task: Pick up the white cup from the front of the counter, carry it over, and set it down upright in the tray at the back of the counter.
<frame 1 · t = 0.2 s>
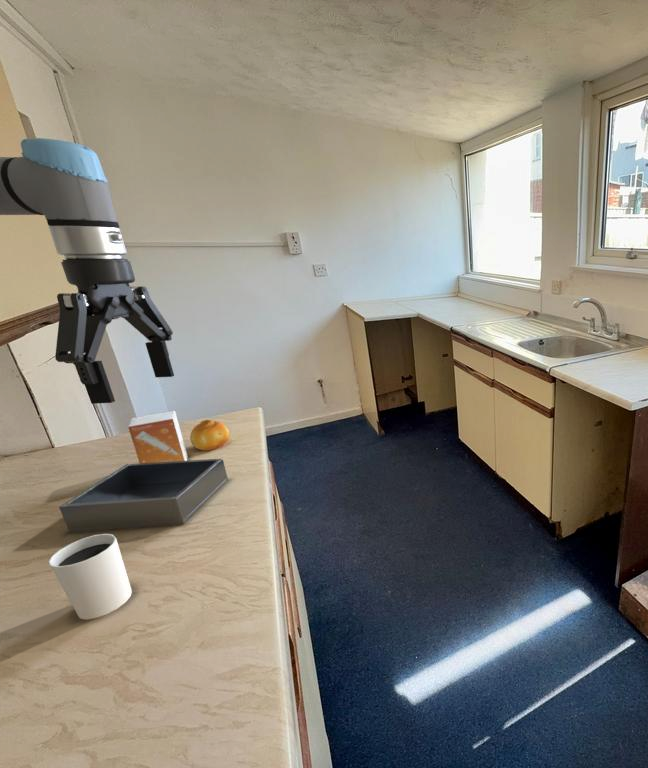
hand: (137, 388, 67), 28 cm above the counter, tool pointing down, fingers open, 13 cm apart
white cup: (106, 605, 59), on the counter
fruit: (213, 447, 107), on the counter
tray: (157, 505, 82), on the counter
small box: (167, 467, 97), on the counter
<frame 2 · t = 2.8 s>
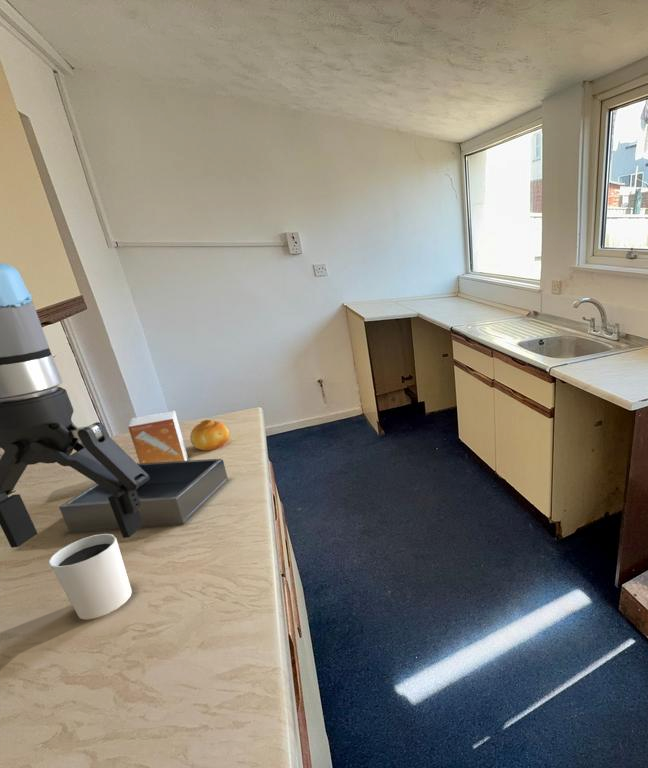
hand: (80, 536, 55), 12 cm above the counter, tool pointing down, fingers open, 13 cm apart
nothing on the counter moved.
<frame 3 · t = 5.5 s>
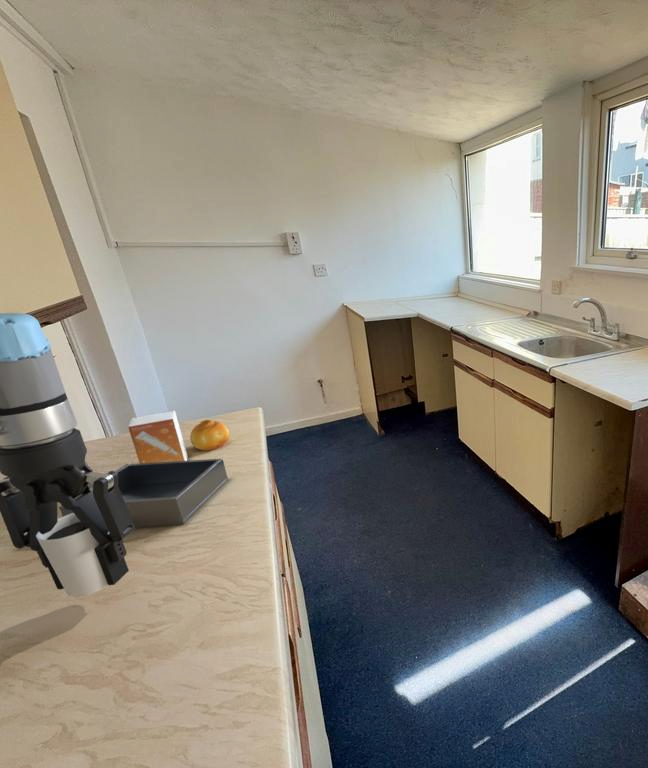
hand: (94, 579, 58), 5 cm above the counter, tool pointing down, fingers closed on white cup, 6 cm apart
white cup: (95, 581, 58), point 4 cm above the counter, touching gripper
everything else where it was.
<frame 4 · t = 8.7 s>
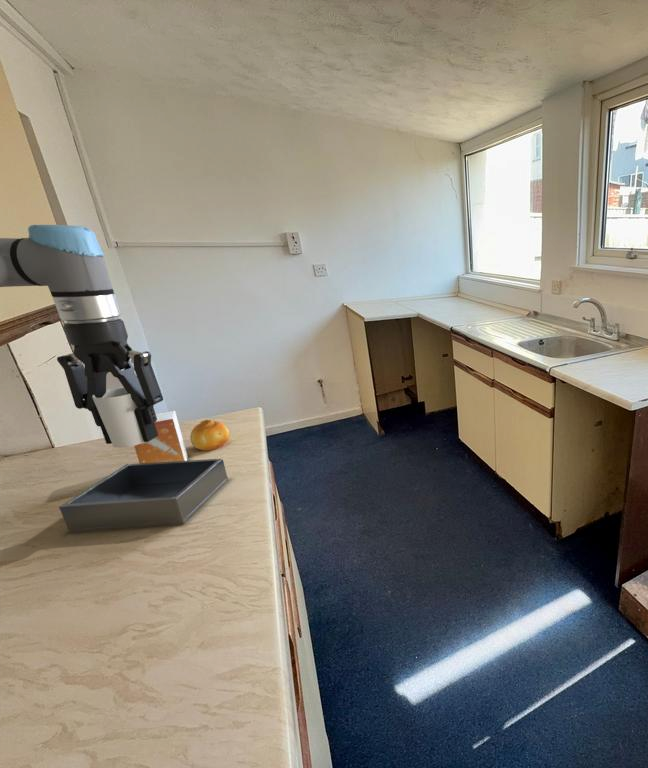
hand: (132, 439, 76), 16 cm above the counter, tool pointing down, fingers closed on white cup, 6 cm apart
white cup: (133, 441, 77), point 15 cm above the counter, touching gripper
everything else where it was.
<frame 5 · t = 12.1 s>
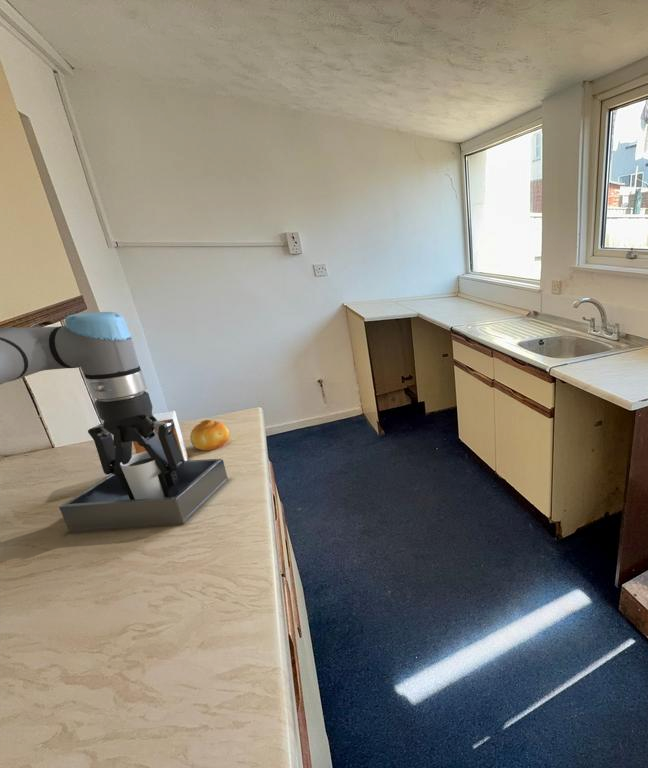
hand: (156, 499, 82), 1 cm above the counter, tool pointing down, fingers closed on white cup, 6 cm apart
white cup: (156, 501, 82), point 1 cm above the counter, touching gripper
everything else where it was.
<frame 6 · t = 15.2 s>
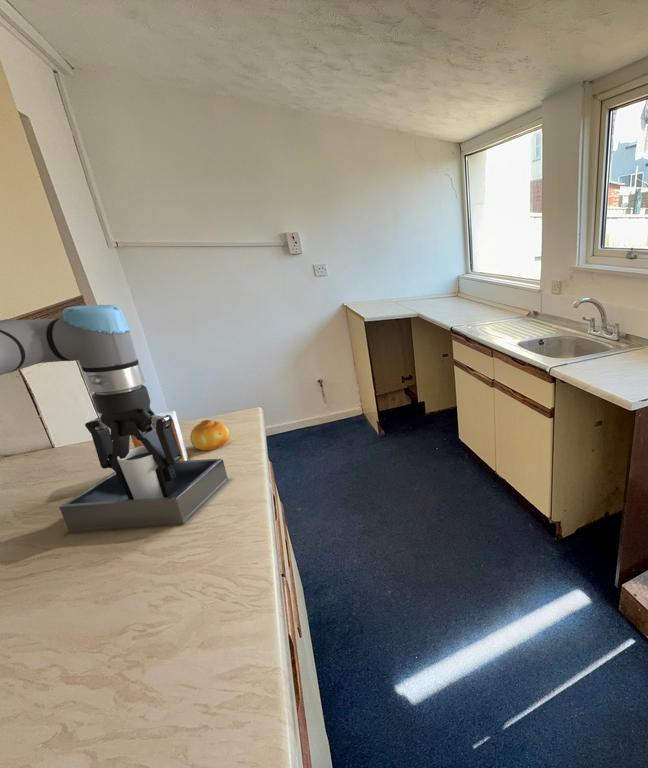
hand: (153, 494, 82), 3 cm above the counter, tool pointing down, fingers closed on white cup, 6 cm apart
white cup: (154, 496, 82), point 2 cm above the counter, touching gripper
everything else where it was.
when the fingers open (3 cm above the counter, at t = 17.8 s): white cup drops 1 cm, resting on tray.
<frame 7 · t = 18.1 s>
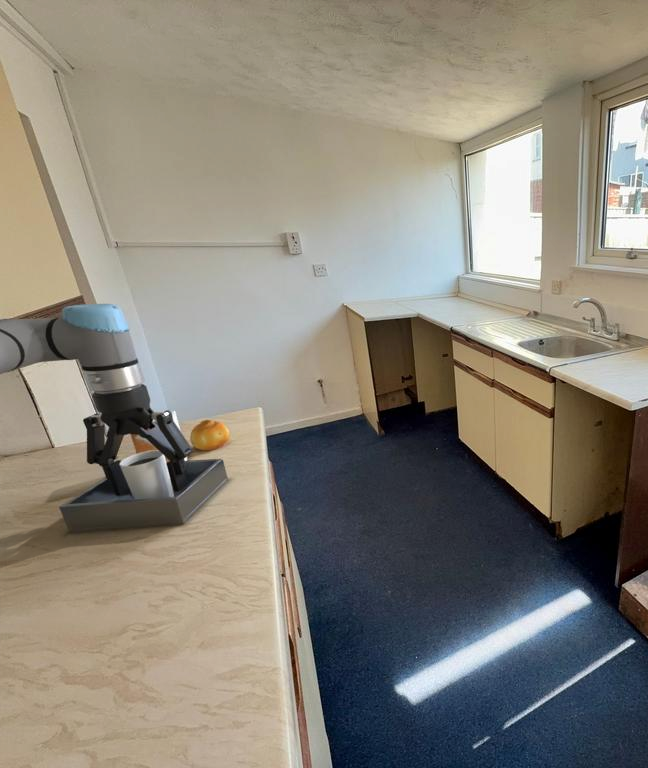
hand: (152, 489, 81), 4 cm above the counter, tool pointing down, fingers open, 10 cm apart
white cup: (156, 501, 82), point 1 cm above the counter, touching tray
everything else where it was.
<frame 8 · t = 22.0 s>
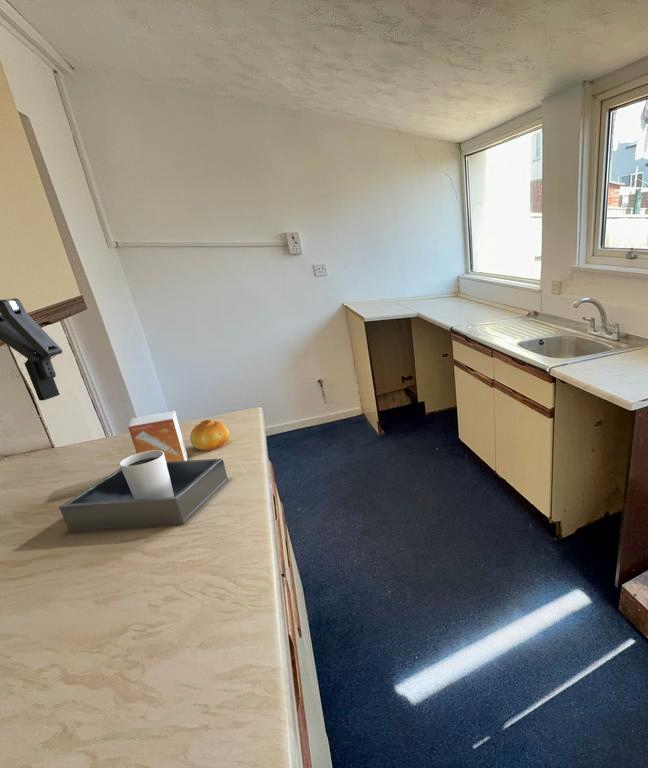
hand: (3, 399, 66), 27 cm above the counter, tool pointing down, fingers open, 13 cm apart
nothing on the counter moved.
at the end: white cup inside the target area in the tray (0.0 cm from its centre), point 0.8 cm above the tray's base; white cup tilted 0°; the gripper is holding nothing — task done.
